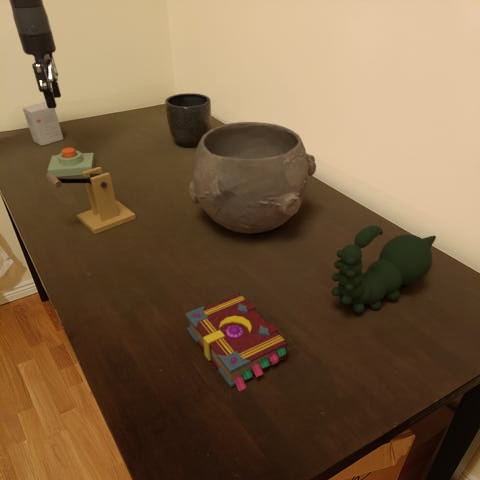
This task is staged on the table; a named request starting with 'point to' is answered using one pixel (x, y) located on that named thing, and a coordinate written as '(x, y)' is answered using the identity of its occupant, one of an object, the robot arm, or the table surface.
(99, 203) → the wooden lever stand
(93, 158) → the switch block
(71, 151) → the button
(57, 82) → the robot arm
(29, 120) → the small box
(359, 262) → the toy figurine
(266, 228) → the bowl
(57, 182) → the switch lever
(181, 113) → the planter
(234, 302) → the decorative book
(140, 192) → the table surface
